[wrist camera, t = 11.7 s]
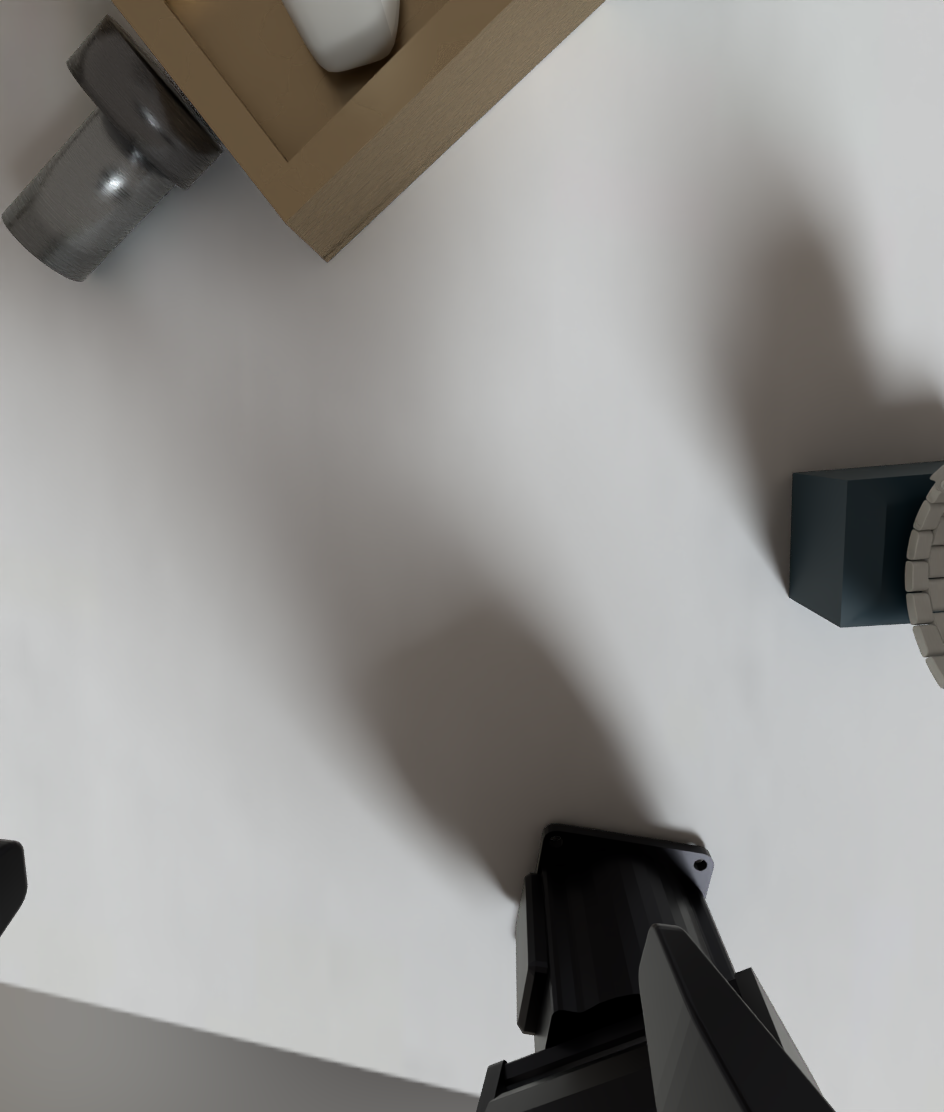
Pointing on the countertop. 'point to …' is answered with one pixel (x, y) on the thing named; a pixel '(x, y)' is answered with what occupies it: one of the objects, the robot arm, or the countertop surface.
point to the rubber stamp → (873, 549)
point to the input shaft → (111, 158)
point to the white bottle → (345, 30)
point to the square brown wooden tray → (346, 95)
